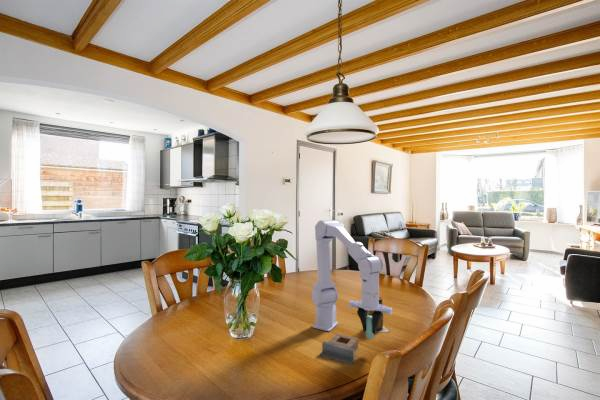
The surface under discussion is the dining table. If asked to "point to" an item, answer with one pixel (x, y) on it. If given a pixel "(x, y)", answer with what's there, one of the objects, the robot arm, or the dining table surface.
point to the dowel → (369, 327)
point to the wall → (338, 352)
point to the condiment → (380, 323)
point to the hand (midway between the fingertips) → (369, 331)
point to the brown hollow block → (345, 341)
